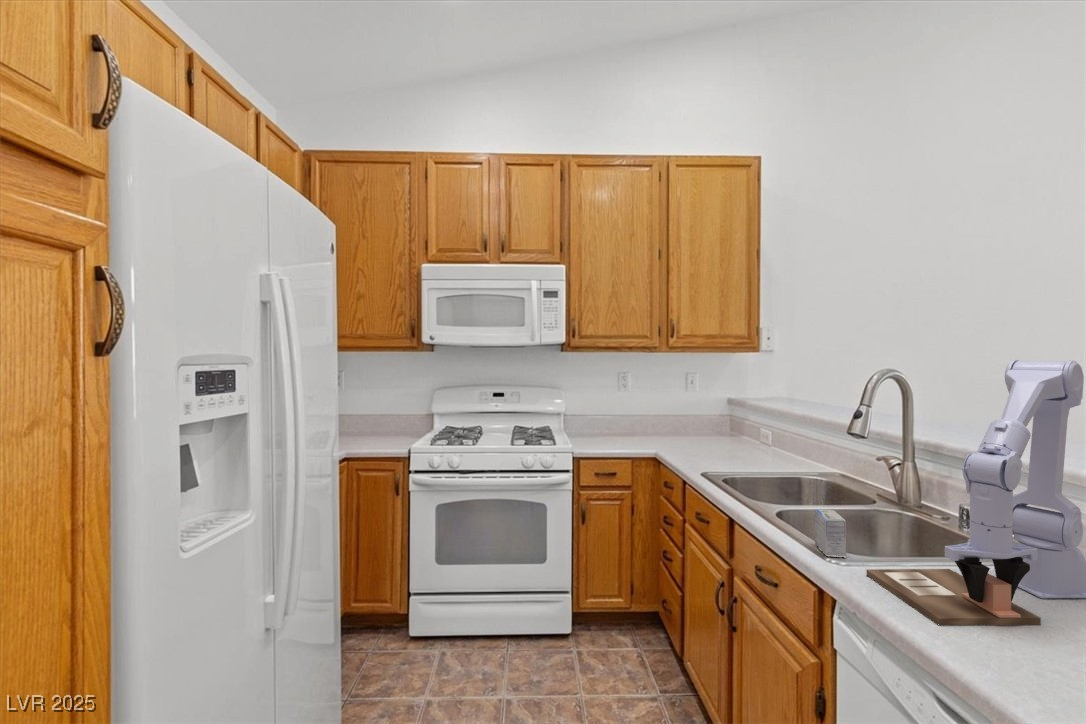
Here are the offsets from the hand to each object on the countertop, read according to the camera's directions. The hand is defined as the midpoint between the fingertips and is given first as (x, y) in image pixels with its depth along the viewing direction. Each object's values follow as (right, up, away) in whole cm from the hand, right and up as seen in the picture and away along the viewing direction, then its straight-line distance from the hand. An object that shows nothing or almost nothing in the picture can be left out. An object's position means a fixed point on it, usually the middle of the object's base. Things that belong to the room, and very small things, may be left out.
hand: (990, 599), depth 92 cm
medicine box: (-12, -2, +30) cm, 32 cm away
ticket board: (-3, -3, +7) cm, 8 cm away
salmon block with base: (0, -1, 0) cm, 1 cm away
